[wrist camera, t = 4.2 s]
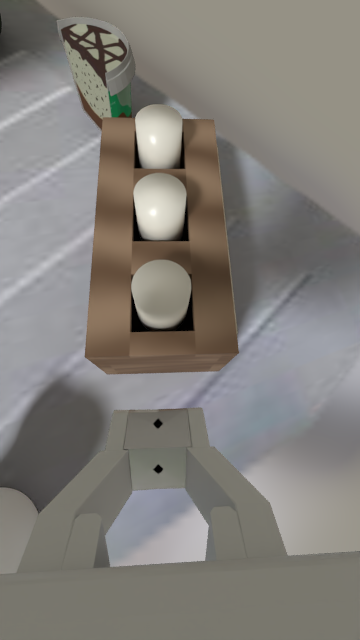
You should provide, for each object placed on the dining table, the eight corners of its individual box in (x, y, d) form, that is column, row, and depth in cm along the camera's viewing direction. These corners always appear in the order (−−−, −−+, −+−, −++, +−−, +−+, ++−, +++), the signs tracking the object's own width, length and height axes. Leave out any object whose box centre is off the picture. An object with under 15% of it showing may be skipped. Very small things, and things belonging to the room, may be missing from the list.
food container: (157, 139, 42) (154, 57, 33) (121, 156, 41) (108, 76, 31) (112, 90, 45) (98, 3, 35) (78, 105, 43) (54, 18, 34)
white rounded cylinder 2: (183, 249, 28) (187, 215, 23) (138, 250, 27) (132, 214, 23) (182, 212, 29) (185, 173, 24) (139, 212, 29) (133, 172, 24)
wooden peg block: (218, 371, 31) (238, 353, 22) (107, 374, 30) (84, 356, 22) (203, 184, 40) (213, 119, 31) (116, 183, 39) (102, 117, 30)
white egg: (187, 333, 25) (192, 313, 20) (137, 334, 25) (130, 314, 20) (185, 288, 26) (190, 259, 22) (137, 288, 26) (131, 259, 21)
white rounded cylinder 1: (180, 181, 30) (183, 138, 26) (139, 181, 30) (134, 137, 26) (179, 151, 32) (181, 104, 27) (140, 150, 32) (135, 103, 27)
